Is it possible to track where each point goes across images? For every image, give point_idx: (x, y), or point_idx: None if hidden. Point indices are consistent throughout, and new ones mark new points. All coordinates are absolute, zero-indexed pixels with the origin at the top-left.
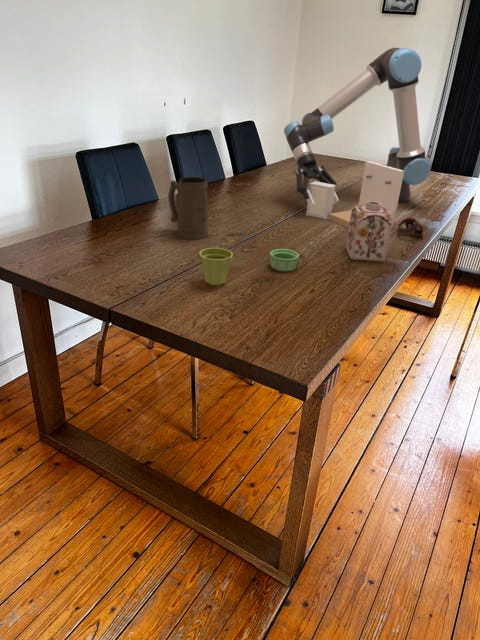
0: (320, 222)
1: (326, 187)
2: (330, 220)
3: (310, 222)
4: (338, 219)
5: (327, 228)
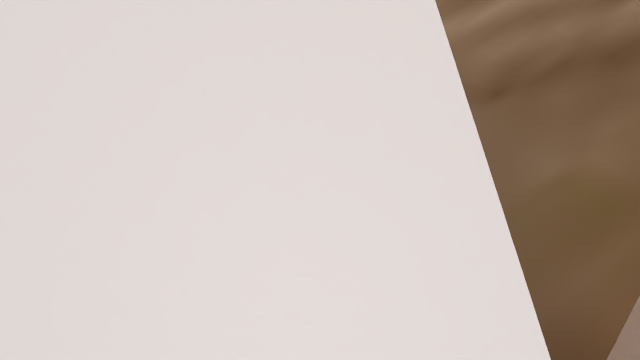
0: (515, 194)
1: (424, 31)
2: None
3: (635, 273)
4: None
5: (610, 29)
